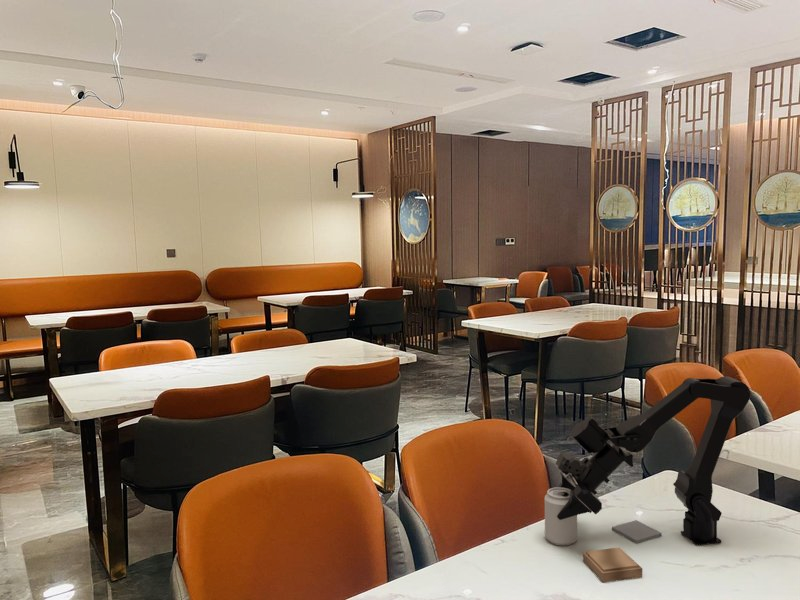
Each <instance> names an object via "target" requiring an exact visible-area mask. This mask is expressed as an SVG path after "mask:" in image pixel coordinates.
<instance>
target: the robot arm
mask: <svg viewBox="0 0 800 600" xmlns="http://www.w3.org/2000/svg"><path fill="white" fill-rule="evenodd" d="M751 391H752V390H750V388H749V386H748V385H747V384H745V383H744V382H742V381H739V380H737V379H735V378H733V377H731V376H725V375H724V376H721V377H719V378H705V377H703V378H694V377H688V378H685V379H684V380H683V381H682V383H681V384H680V385H678V386H677V387H676V388H674V389H673V390H672V391H670V392H669V393H668V394H667V395H665V396H664V397H663V398H661V399H660V400H659V401H658V402H657V403H655V404H654V405H653V406H651V407H650V408H648V410H646V411H645V412H643V413H641V414H638V415H636V416H632V417H629V418H628V419H626V420H624V421H622V422H620V423H619V424H618V425H617V426H612V427H610V426H609V427H604V428H603V427H601V425H600V424H598V422H597V421H596V420H595V418H593V417H592V416H589V417H587V419H586V418H585V419H582V421H579V422H577V423H576V424H575V425H574V426H573V428H572V429H571V430H570V433H569V437H570V438H571V439H573V441H575V442H576V443H577V444H578V446H580V447H581V448H582V449H583V450H584V451H585V452H587V453H588V454H591V453H593V455H592V456H591V457H590V458H589V457H584V458H583V459H582V460H581V459H578V458H577V457H575V456H573V455H570V454H568V453H565V452H563V451H560V453H559V455H558V458H557V459H556V461H555V463H554V464H555V465H556V466H557V469H558V470H560V471H561V472H559V477H560V479H559V480H560V483H559V485H558V487H561V488H567V489H570V500H569V501H568V502H567V503H566V505H565V506H564V507H563V509H562V510H561V511H560V512H559V514H558V515H557V518H558V519H559V520H562V519H565V518H569V517H572V516H575V515H577V516H578V515H583V514H587V513H589V514H591V513H593V514H594V515H597V514H598V513H599V512H600V511H602V508H603V507H602V506H603V505H602V504H603V502H601V500H600V498H599V497H598V496H597V494H598V492H597V489H598V488H599V487H600V486H601V485H602V484H603V483H604V482H605V483H606V484H608V483H609V482H610V481H611V480H610V479H609V477H610V476H611V475H612V474H613V473H614V472H615V471H616V470H617V469H618V468H619V467H620V466H621V465H622V464H624V463H625V464H627V465H628V466H629V467H630V468H633V467H634V461H633V458H634V455H633V454H632V453H636V454H637V453H640V452H642V451H643V450H645V448H646V447H647V446H648V445H649V444H650V443H651V442H652V441H653V439H654V437H655V435H656V433H657V432H658V431H659V430H660V428H661V427H663V426H664V425H665V424H666V423H668V422H670V421H671V420H672V419H673V418H675V417H676V416H677V415H678V414H680V413H681V412H682V411H683V410H685V409H686V408H687V407H689V406H690V405H691V404H692V403H694V402H695V401H696V400H697V399H699V398H700V399H707V400H710V414H709V416H708V419H707V422H706V425H705V427H704V430H703V433H702V436H701V439H700V441H699V444H698V447H697V449H696V452H695V455H694V458H693V459H692V463H691V466H690V467H689V468H688V469H687V470H686V471H683V470H680V469H679V470H678V472H677V477H676V480H675V481H674V482H673V484H672V485H673V486H674V494H675V496H676V497H677V499H678V500H679V501H680V502H681V503H682V504H683V507H684V508H686V509H687V510H685V512H684V518H683V519H682V523H683V525H682V527H683V528H682V529H683V530H681V531H680V535H682V536H683V537H684V538H686V539H688V540H689V541H690V542H691V543H692V544H694V545H695V546H704V545H713V544H720V543H722V539H720V538H719V537H718V534H717V533H718V526H717V525H718V522H719V521H720V518H721V516H722V511H721V510H720V509H719V508H718V507H716V506H715V505H714V504H713V503H712V498H713V491H714V490H713V474H714V472H715V468H716V467H717V464H718V460H719V458H720V456H721V454H722V453H721V452H722V450H723V448H724V445H725V442H726V439H727V437H728V435H729V432H730V428H731V425H732V423H733V421H734V420H735V418H737V417H738V416H739V415H740V414H741V413H742V412H743V411H744V410H745V408H746V406H747V404H748V403H749V401H750V400H751V396H752V392H751ZM608 441H610V442H611V443H612V444H613V445H612V444H611V443H610V442H608ZM622 448H624V449H625V450H626V451H627V452H626V451H624V450H623V449H622ZM571 490H572V491H573V492H574V493H573V492H572V491H571Z"/></svg>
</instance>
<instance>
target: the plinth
mask: <svg viewBox="0 0 800 600" xmlns="http://www.w3.org/2000/svg"><path fill="white" fill-rule="evenodd" d="M582 561H583V563H584V564H585V565H586V566H587V567H588V569H590V571H591V572H592V573H593V572H594V573H595V574H596V575H597V576H598V577H599V578H600V579H601V580H600V579H599V578H598V577H597V576H596V575H595V574H594V573H593V574H594V575H595V576H596V577H597V578H598V579H599V580H600V581H601V582H602V583H608V582H607V581H611V582H617V581H616V580H618V581H624V579H626V580H633V579H632V578H634V579H641V578H643V567H642V566H640V565H639V563H638V562H636V561H635V560H634V559H633V558H632V557H630V555H629V554H627V552H625V551H624V550H623V549H622V548H621V547H620V546H619V547H611V548H604V549H592V550H587V551H585V552H582ZM640 577H641V578H640Z"/></svg>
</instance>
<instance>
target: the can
mask: <svg viewBox="0 0 800 600" xmlns="http://www.w3.org/2000/svg"><path fill="white" fill-rule="evenodd" d="M571 491H572V490H571ZM572 492H573V491H572ZM573 493H574V492H573ZM569 500H570V489H567V488H561V487H559V486H557V487H551V488H549V489H548V490H547V492H546V494H545V495H544V536H545V538H546V539H547V540H548V541H549V542H550V543H552V544H553V545H555V546H562V547H563V546H570V545H573V543H574V542H576V541H577V540H578V515H575V516H572V517H569V518H565V519H562V520H559V519H558V518H557V515H558V514H559V512H560V511H561V510H562V509H563V507H564V506H565V505H566V503H567V502H568V501H569Z"/></svg>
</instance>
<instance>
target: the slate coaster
mask: <svg viewBox="0 0 800 600" xmlns="http://www.w3.org/2000/svg"><path fill="white" fill-rule="evenodd" d="M611 531H612V532H614V531H615V533H616V534H618V535H620V536H622V537H623V536H624V537H623V538H626V539H627V540H629V541H631V542H633V543H634V544H641V543H643V542H648V541H650V540H654V539H657V538H660V537H662V534H663V533H662V532H660V531H658V530H656V529H655V528H652V527H650V526H649V525H647V524H645V523H643V522H641V521H639V520H637V519H635V520H631V521H628V522H625V523H621V524H617V525H614V526H613V525H612V527H611Z"/></svg>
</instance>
